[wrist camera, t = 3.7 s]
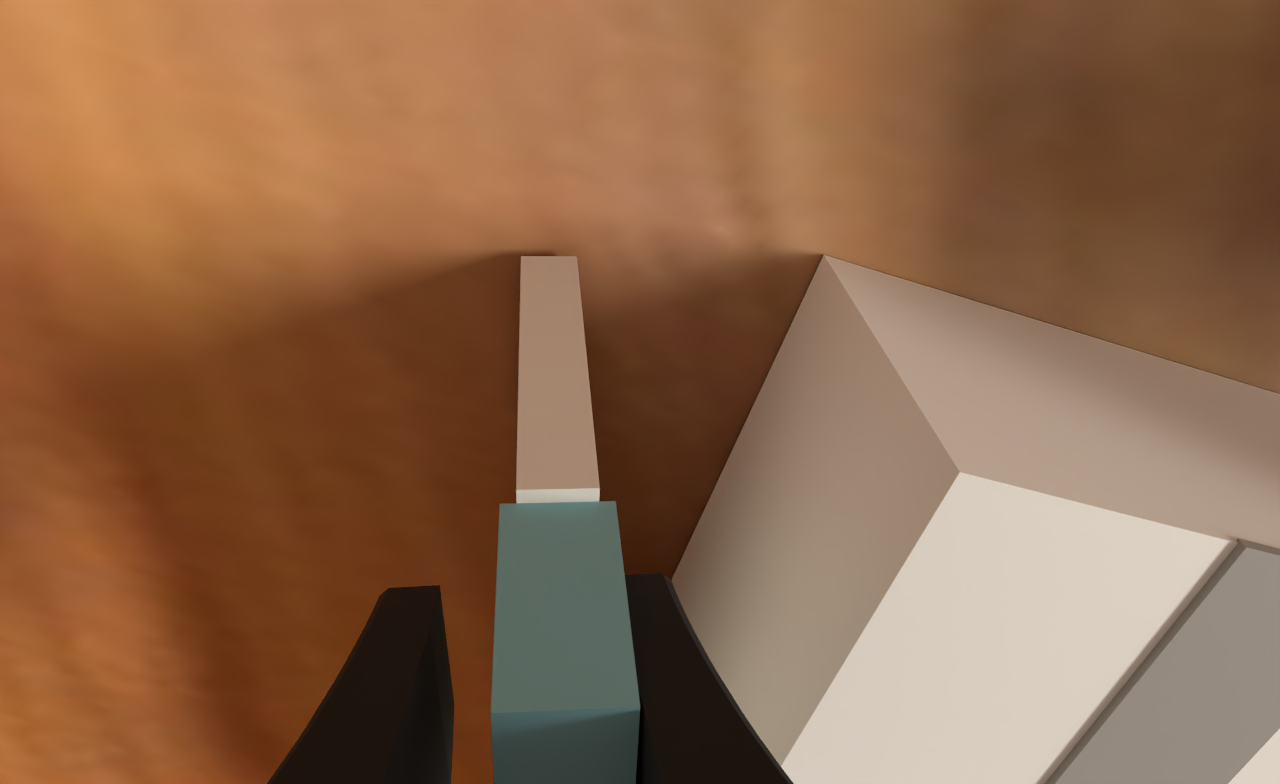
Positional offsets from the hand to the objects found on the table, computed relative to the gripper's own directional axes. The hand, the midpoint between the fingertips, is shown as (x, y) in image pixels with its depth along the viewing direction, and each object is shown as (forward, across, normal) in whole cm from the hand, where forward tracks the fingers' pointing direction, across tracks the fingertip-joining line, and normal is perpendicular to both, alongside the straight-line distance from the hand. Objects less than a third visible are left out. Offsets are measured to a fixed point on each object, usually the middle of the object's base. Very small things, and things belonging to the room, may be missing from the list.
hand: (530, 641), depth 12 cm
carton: (+8, -9, +8) cm, 14 cm away
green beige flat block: (+8, 0, +5) cm, 9 cm away
